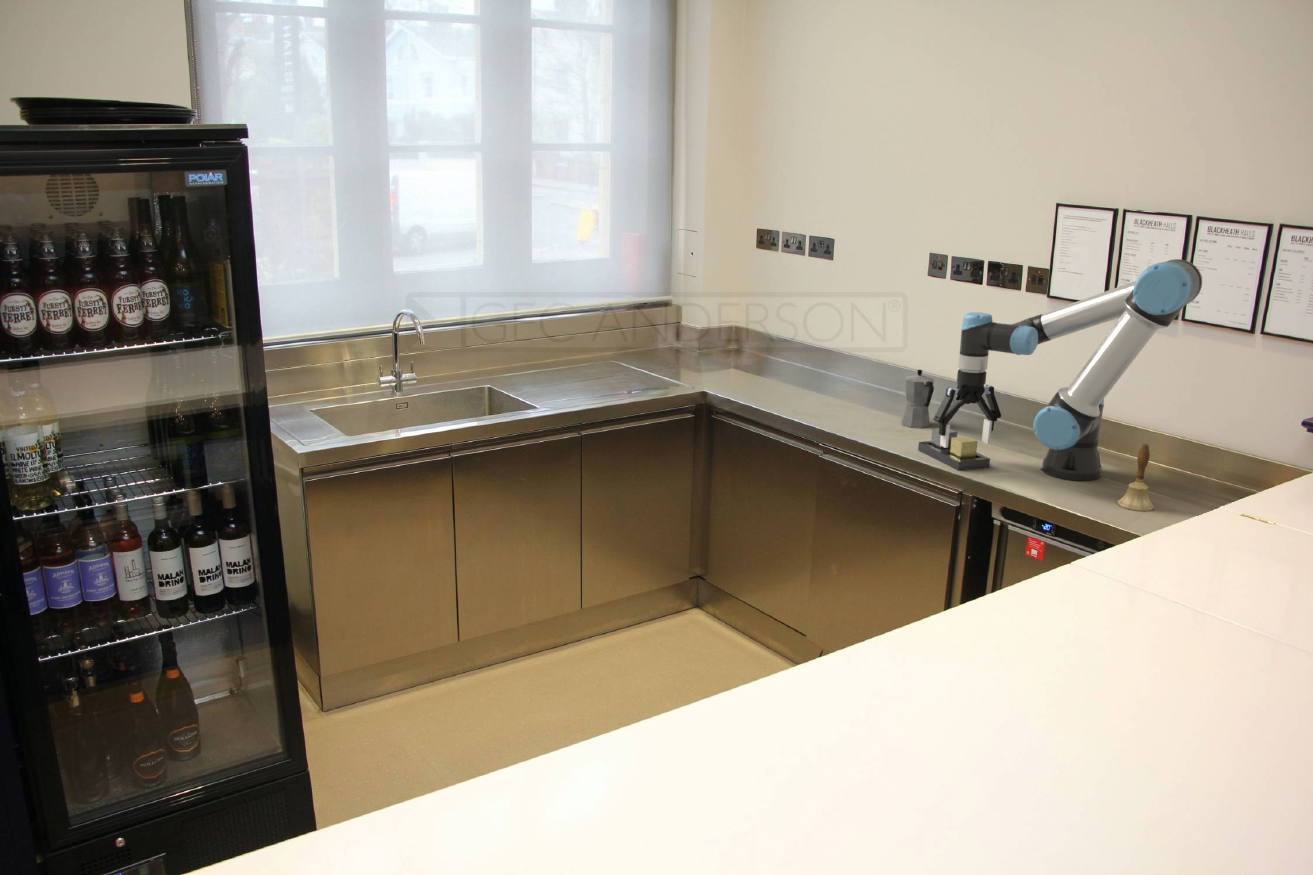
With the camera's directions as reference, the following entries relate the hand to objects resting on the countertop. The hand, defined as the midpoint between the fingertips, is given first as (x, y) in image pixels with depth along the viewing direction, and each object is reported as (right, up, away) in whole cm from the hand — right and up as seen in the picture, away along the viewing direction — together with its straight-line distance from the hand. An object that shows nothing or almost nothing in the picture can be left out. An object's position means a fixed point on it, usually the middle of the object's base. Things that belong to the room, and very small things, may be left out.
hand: (964, 444), depth 282 cm
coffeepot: (-2, +6, +42) cm, 43 cm away
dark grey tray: (-2, -4, +6) cm, 8 cm away
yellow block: (0, -5, +2) cm, 6 cm away
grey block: (-3, -3, +11) cm, 11 cm away
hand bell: (+34, -15, -29) cm, 47 cm away
